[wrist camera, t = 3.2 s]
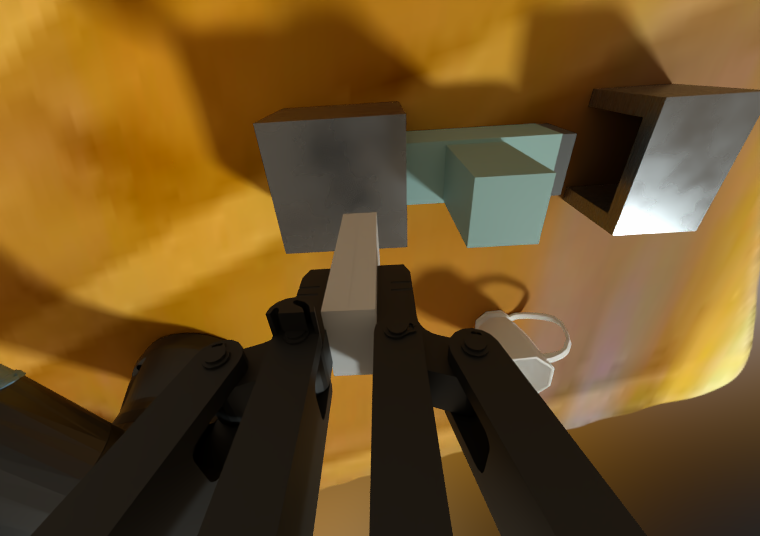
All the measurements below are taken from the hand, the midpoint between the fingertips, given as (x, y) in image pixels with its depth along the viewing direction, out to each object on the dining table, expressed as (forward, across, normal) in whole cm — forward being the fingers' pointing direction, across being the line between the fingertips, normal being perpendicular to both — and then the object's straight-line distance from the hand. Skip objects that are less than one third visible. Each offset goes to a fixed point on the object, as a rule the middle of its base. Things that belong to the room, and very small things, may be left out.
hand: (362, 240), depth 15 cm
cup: (+15, +14, -19) cm, 28 cm away
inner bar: (+15, +4, 0) cm, 15 cm away
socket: (+15, +20, 0) cm, 25 cm away
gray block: (+14, -2, 0) cm, 15 cm away
